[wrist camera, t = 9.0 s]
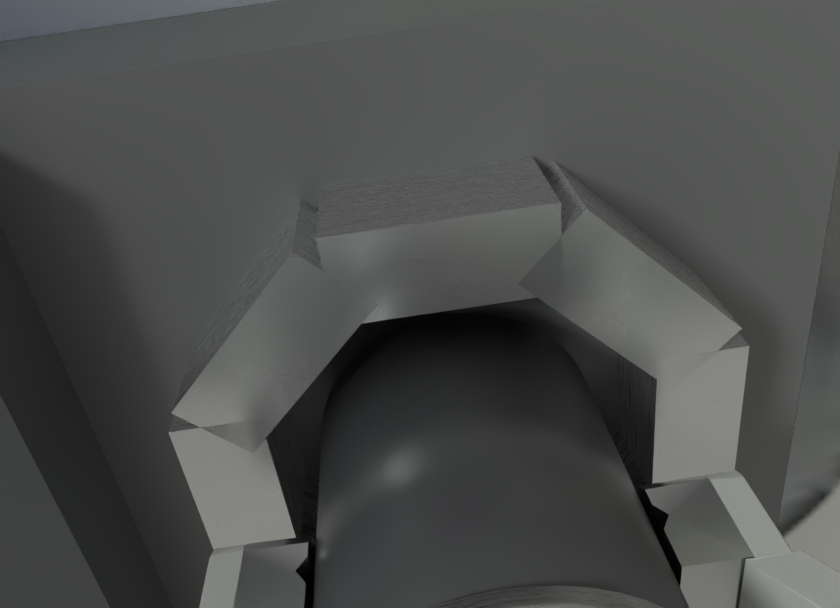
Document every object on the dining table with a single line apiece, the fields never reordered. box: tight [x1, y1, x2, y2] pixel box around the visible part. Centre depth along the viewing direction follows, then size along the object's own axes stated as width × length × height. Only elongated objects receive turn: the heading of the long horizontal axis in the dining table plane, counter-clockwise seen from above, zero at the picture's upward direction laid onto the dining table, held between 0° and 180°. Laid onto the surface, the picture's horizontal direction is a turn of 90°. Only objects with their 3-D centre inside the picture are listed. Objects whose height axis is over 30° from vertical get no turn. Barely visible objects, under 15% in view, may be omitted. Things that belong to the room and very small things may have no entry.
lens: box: [313, 313, 689, 608], centre depth 11 cm, size 5×5×7 cm
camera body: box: [0, 0, 840, 608], centre depth 16 cm, size 20×14×8 cm
